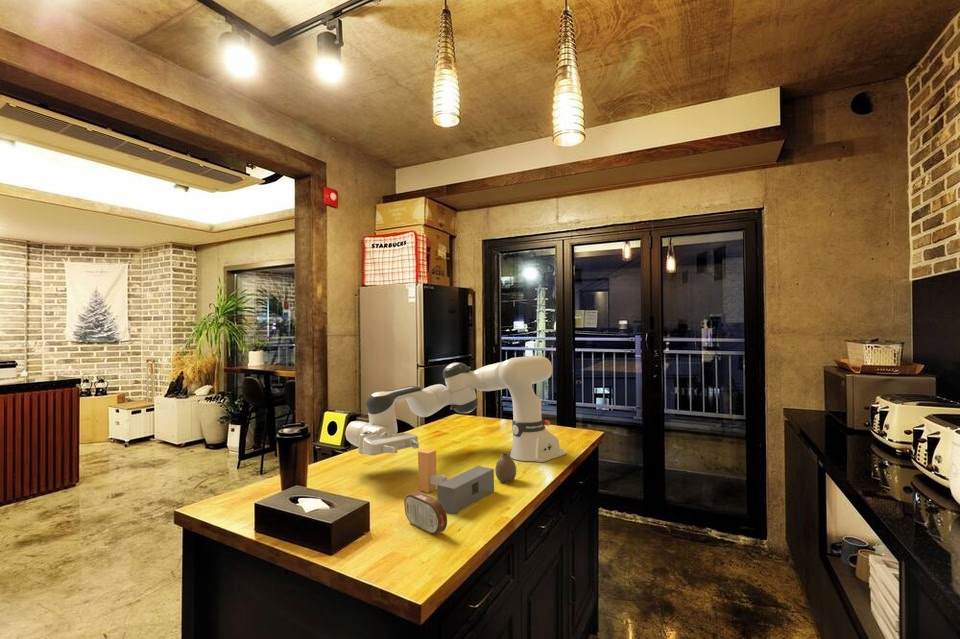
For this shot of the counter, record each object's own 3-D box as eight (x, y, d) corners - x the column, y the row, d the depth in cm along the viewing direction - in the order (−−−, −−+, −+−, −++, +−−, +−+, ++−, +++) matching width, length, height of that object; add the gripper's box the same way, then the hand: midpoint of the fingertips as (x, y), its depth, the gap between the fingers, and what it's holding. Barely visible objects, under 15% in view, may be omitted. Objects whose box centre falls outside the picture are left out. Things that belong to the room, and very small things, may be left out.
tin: (448, 536, 110) (447, 501, 110) (438, 540, 108) (437, 505, 108) (412, 518, 121) (411, 486, 121) (402, 522, 118) (401, 490, 118)
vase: (518, 478, 150) (518, 452, 150) (513, 485, 144) (512, 458, 144) (499, 476, 152) (498, 450, 152) (492, 483, 146) (492, 456, 146)
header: (494, 491, 139) (493, 468, 139) (454, 514, 122) (454, 488, 122) (478, 487, 142) (477, 465, 142) (437, 509, 126) (437, 484, 126)
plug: (449, 491, 139) (448, 452, 139) (440, 495, 135) (440, 455, 135) (427, 486, 144) (426, 448, 144) (418, 490, 140) (418, 451, 141)
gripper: (401, 444, 163) (428, 452, 154) (354, 454, 146) (382, 464, 138) (402, 426, 163) (430, 434, 154) (355, 434, 147) (383, 443, 138)
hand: (407, 448), depth 146 cm, fingers open, 8 cm apart
